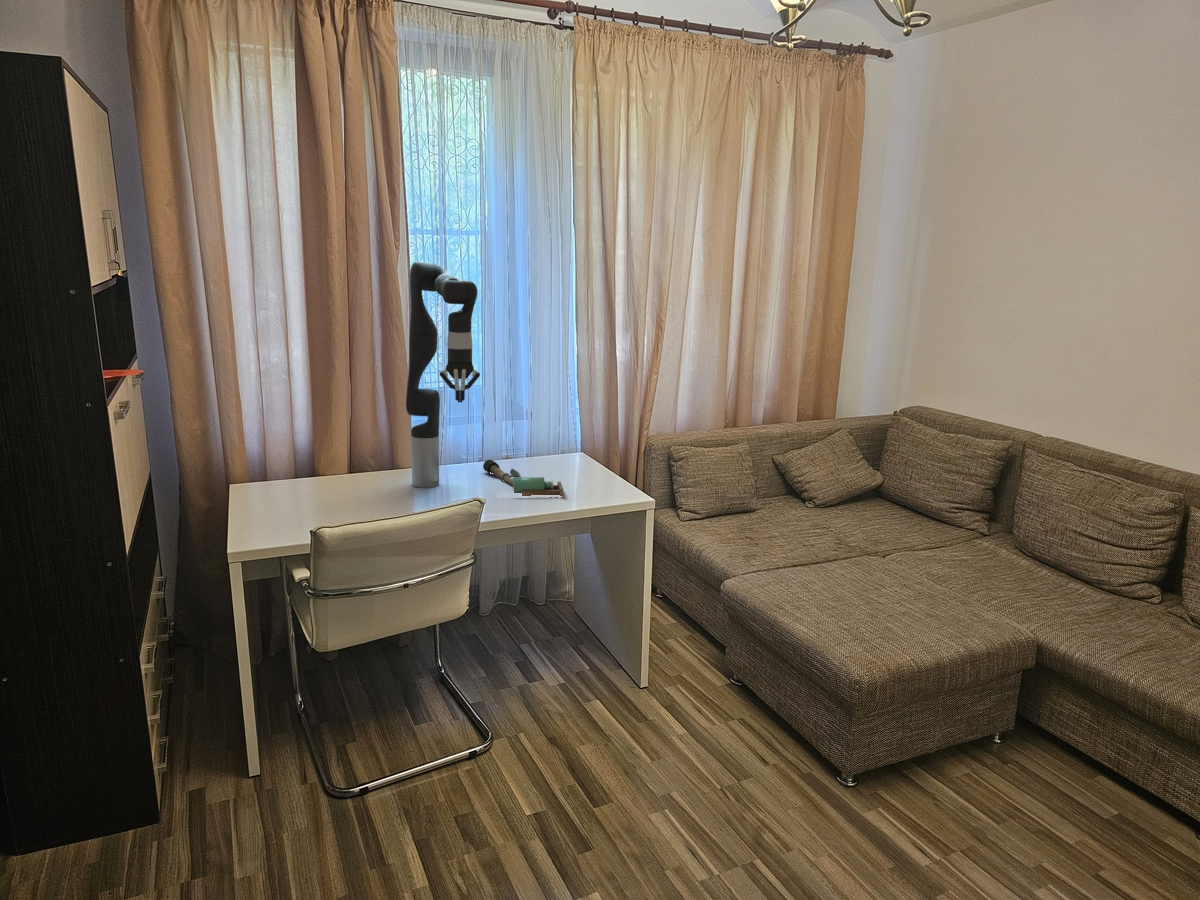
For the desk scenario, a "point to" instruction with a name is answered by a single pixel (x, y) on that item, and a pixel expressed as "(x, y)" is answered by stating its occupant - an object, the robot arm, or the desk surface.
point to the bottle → (530, 484)
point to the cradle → (545, 491)
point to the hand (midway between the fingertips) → (459, 401)
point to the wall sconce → (500, 471)
